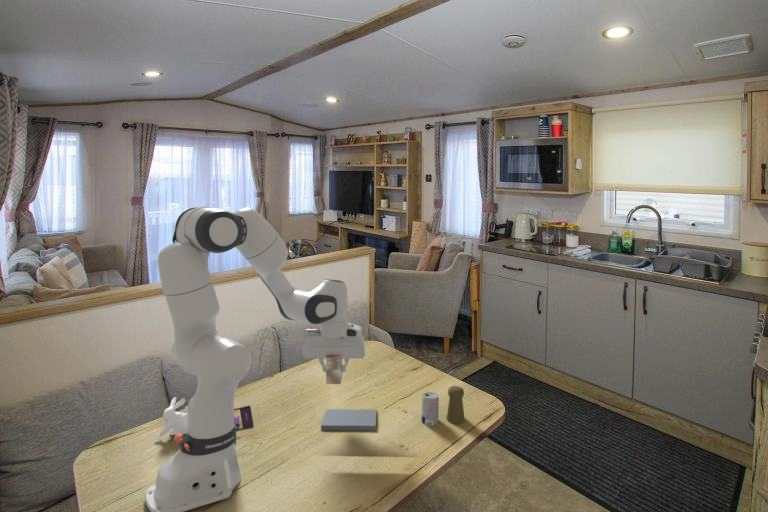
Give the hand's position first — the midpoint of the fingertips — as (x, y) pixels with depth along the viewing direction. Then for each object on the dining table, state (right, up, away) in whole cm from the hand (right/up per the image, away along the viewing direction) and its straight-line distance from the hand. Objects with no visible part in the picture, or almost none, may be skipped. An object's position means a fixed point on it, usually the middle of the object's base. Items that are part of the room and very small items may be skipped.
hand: (334, 371), depth 137 cm
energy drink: (+31, -20, +2) cm, 37 cm away
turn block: (0, -3, 0) cm, 3 cm away
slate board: (+5, -17, +1) cm, 17 cm away
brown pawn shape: (+40, -17, +3) cm, 43 cm away
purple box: (-27, -15, 0) cm, 31 cm away
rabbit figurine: (-48, -17, -5) cm, 51 cm away
